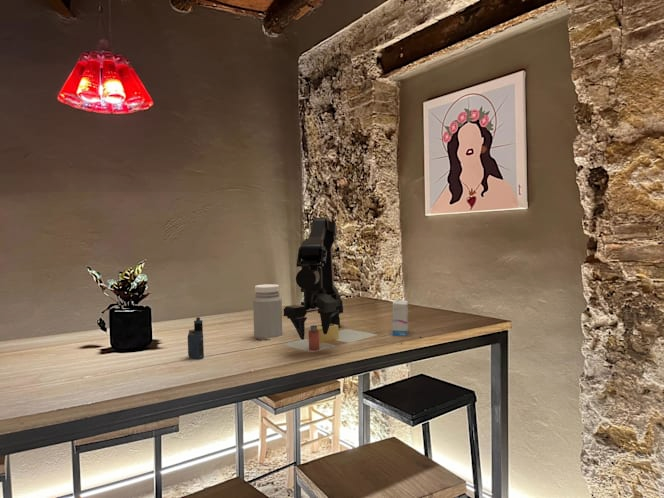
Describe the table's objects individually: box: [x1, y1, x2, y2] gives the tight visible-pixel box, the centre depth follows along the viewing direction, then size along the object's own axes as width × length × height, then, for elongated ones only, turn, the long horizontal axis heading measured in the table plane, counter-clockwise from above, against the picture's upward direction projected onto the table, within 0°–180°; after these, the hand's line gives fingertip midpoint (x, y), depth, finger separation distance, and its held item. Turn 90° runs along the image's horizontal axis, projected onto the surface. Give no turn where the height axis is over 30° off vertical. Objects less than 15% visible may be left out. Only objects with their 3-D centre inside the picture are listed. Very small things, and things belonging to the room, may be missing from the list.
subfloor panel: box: [280, 328, 377, 353], centre depth 156 cm, size 14×30×1 cm, turn 134°
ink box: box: [392, 299, 409, 337], centre depth 163 cm, size 9×5×12 cm, turn 168°
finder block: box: [316, 324, 339, 343], centre depth 155 cm, size 4×8×5 cm, turn 134°
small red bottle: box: [308, 324, 320, 351], centre depth 144 cm, size 3×3×7 cm
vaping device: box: [187, 316, 205, 360], centre depth 141 cm, size 3×5×12 cm, turn 58°
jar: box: [252, 283, 283, 341], centre depth 165 cm, size 10×10×18 cm
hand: (314, 336), depth 144 cm, fingers open, 9 cm apart
